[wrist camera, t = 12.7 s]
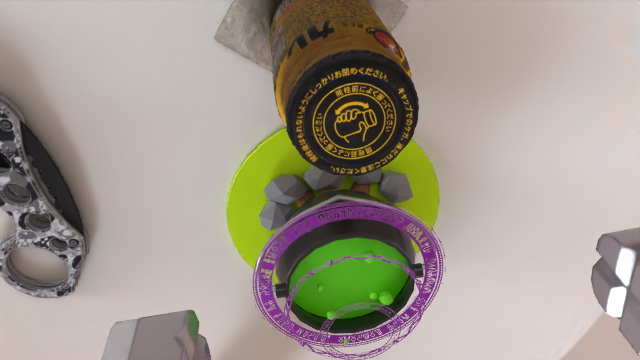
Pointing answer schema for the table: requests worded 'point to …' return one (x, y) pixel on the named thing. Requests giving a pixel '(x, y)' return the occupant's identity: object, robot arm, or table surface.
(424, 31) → the table surface
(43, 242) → the knife
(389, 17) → the condiment
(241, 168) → the toy cauldron
